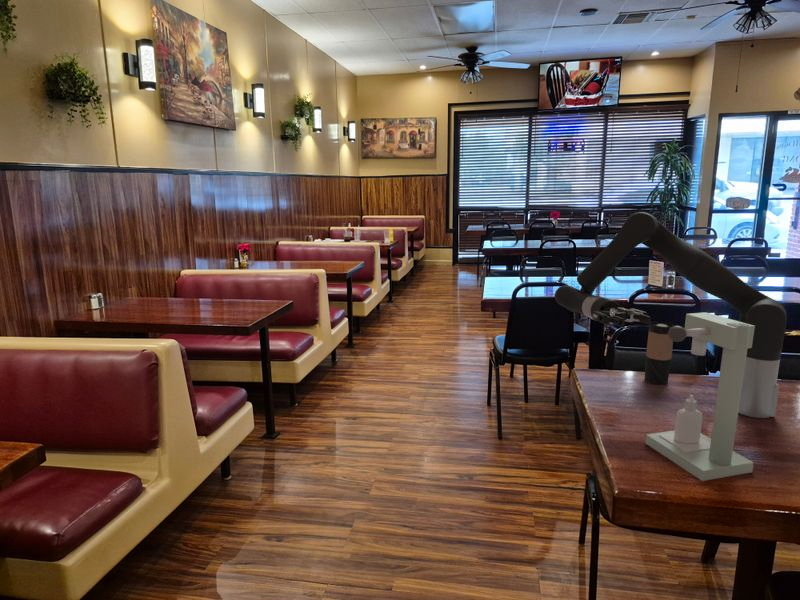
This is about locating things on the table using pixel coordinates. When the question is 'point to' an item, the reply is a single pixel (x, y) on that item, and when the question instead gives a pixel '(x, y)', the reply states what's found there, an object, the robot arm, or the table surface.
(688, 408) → the eye dropper bottle
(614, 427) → the table surface
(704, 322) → the arbor press
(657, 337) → the travel mug
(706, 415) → the table surface
